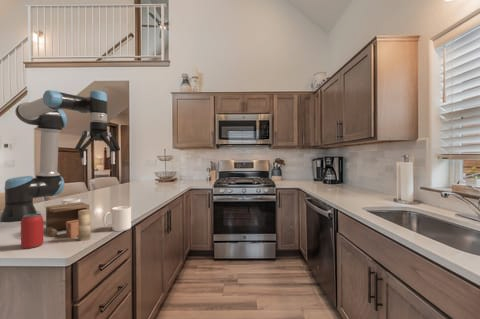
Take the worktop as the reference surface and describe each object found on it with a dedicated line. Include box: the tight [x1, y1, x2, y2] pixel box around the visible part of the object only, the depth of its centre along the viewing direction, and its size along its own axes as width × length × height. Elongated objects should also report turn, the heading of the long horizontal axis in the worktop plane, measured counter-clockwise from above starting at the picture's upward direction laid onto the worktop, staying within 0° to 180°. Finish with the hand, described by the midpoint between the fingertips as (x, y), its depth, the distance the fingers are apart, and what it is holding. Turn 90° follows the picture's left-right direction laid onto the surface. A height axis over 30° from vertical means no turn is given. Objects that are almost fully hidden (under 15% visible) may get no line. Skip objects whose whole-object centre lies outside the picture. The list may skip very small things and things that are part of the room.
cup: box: [102, 205, 132, 232], centre depth 115 cm, size 8×12×10 cm
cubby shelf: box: [45, 202, 90, 238], centre depth 114 cm, size 11×14×12 cm
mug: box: [61, 197, 81, 205], centre depth 127 cm, size 12×8×12 cm
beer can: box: [20, 213, 44, 249], centre depth 94 cm, size 7×7×12 cm
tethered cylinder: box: [65, 209, 91, 242], centre depth 105 cm, size 14×6×12 cm, turn 52°
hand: (99, 164), depth 123 cm, fingers open, 13 cm apart
